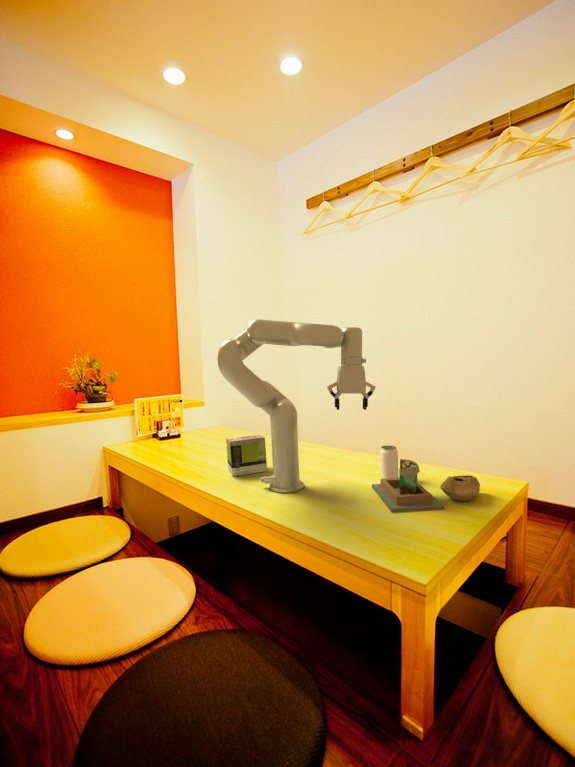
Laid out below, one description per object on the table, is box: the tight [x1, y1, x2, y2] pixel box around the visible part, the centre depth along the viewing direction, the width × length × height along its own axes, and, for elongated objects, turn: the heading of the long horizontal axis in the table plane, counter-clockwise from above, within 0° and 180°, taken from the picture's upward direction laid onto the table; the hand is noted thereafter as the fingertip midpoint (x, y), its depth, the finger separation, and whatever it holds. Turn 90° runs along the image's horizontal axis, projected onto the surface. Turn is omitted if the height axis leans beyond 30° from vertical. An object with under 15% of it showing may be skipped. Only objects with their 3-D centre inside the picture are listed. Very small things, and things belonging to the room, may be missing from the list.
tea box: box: [225, 433, 268, 477], centre depth 158 cm, size 15×10×15 cm
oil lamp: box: [439, 474, 481, 502], centre depth 120 cm, size 11×15×8 cm
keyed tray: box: [371, 477, 445, 513], centre depth 122 cm, size 16×22×4 cm
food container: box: [398, 458, 421, 495], centre depth 121 cm, size 12×6×10 cm, turn 162°
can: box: [379, 445, 399, 479], centre depth 141 cm, size 6×6×12 cm
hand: (351, 409), depth 135 cm, fingers open, 9 cm apart
